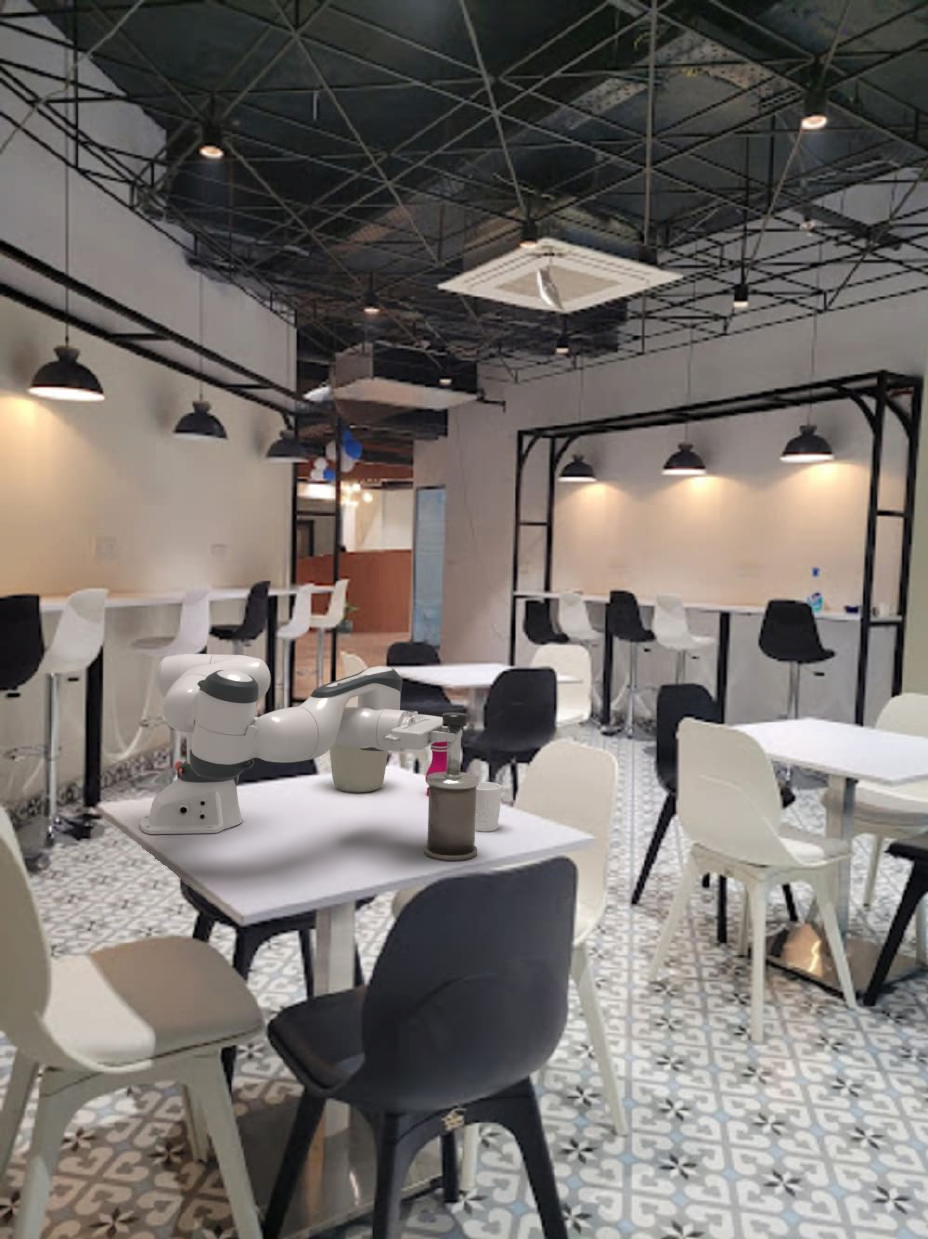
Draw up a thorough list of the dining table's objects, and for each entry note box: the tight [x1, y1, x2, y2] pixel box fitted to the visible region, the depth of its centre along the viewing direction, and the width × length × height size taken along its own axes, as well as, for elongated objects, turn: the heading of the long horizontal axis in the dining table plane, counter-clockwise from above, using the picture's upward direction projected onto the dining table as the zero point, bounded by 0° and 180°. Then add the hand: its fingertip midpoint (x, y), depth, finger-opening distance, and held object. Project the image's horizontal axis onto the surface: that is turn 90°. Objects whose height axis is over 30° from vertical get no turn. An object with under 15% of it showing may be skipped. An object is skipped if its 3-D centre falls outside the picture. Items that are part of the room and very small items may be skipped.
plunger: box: [442, 712, 468, 775], centre depth 190 cm, size 5×5×13 cm
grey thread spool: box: [423, 771, 480, 862], centre depth 191 cm, size 11×11×17 cm
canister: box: [329, 743, 389, 793], centre depth 245 cm, size 18×18×21 cm
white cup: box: [475, 781, 502, 833], centre depth 211 cm, size 8×8×10 cm
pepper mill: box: [425, 741, 448, 797], centre depth 241 cm, size 7×7×20 cm
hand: (458, 735), depth 190 cm, fingers closed on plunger, 3 cm apart
